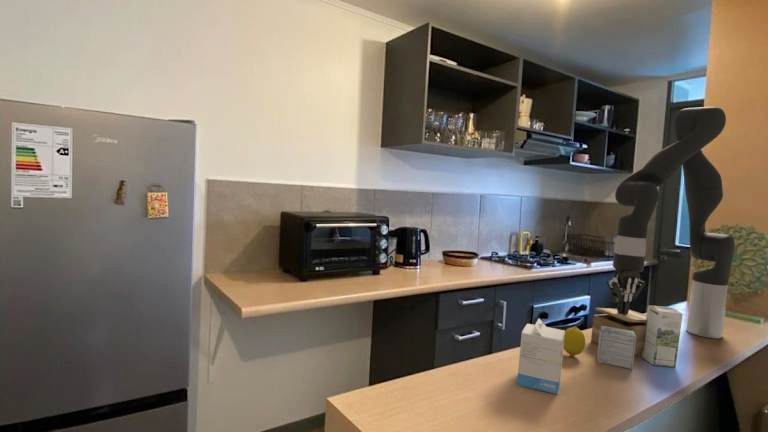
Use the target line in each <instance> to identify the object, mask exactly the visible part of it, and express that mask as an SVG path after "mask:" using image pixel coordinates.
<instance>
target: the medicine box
mask: <svg viewBox="0 0 768 432" xmlns="http://www.w3.org/2000/svg"><path fill="white" fill-rule="evenodd" d="M635 344H636V335H635V333H634V331H629V330H624V329H619V328H613V327H607V326H600V332H599V342H598V345H597V355H596V358H597V359H596V360H597V363H599V364H600V363H601V364H604V365H605V364H606V365H610V366H615V367H620V368H625V369H629V370H633V368H634V362H635V361H634V360H635V356H634V352H635Z"/></svg>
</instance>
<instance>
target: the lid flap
mask: <svg viewBox="0 0 768 432" xmlns="http://www.w3.org/2000/svg"><path fill="white" fill-rule="evenodd" d="M595 311H597V312H600V313H603V314H608V315H611V316H613V317H616V318H619V319H622V320H625V321H628V322H646V317H647V314H644V313H641V312H638V311H634V310H631V309H629V311H628V314H620V313H618V311H617V308H610V307H609V308H605V307H595Z"/></svg>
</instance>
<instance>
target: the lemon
mask: <svg viewBox="0 0 768 432" xmlns="http://www.w3.org/2000/svg"><path fill="white" fill-rule="evenodd" d="M564 331H565V336H564V348H563V351H565V352H566V353H567V354H569V356H570V357H575V356H577V355H580V354H582V353H583V352H584V350H585V347H586V338H585V334H584V332H583V331H582V330H580V329H579V328H578V327H577V326H573V327H569V328H567V329H565V330H564Z"/></svg>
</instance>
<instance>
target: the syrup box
mask: <svg viewBox="0 0 768 432" xmlns="http://www.w3.org/2000/svg"><path fill="white" fill-rule="evenodd" d="M646 310H647V311H646V315H647V317H646V325H645V334H644V341H643V349H642V355H641V357H642V358H643V359H644V360H645V361H647V362H648V363H649V364H651V365H652V366H660V367H668V368H676V366H677V360H678V359H677V358H678V353H679V343H680V337H681V332H682V331H681V330H682V329H681V328H682V321H683V315H684V314H683V313H682V312H681V311H680V310H678V309H676V308H673V307H670V306H658V305H649V304H648V305H647V309H646Z"/></svg>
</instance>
